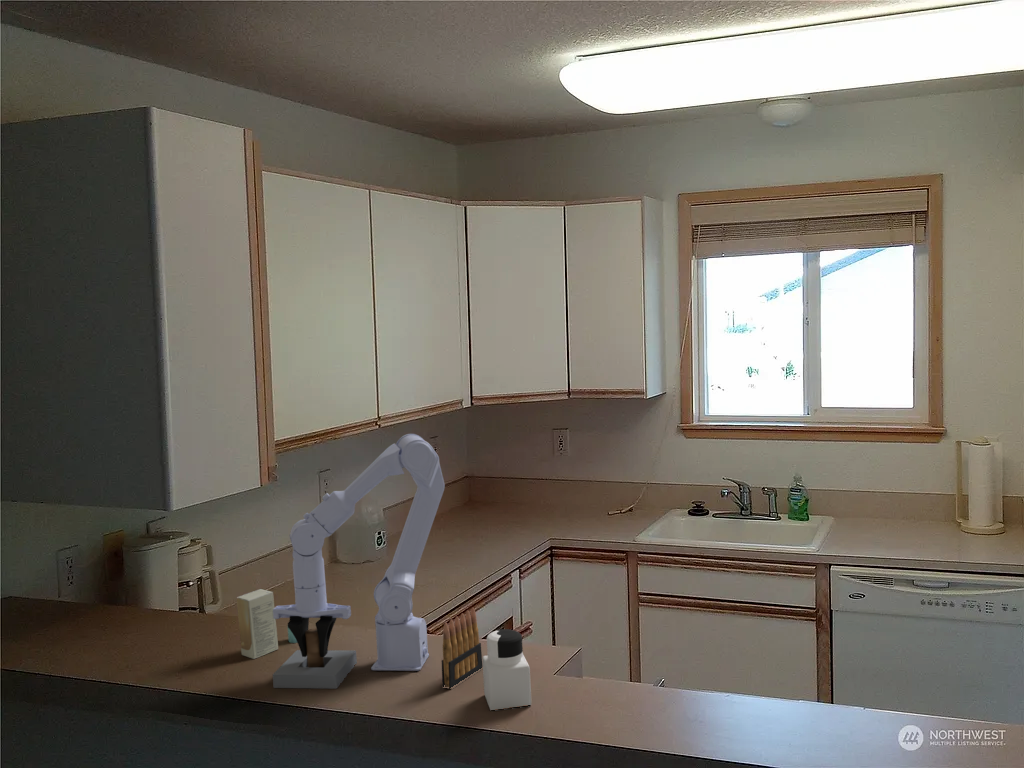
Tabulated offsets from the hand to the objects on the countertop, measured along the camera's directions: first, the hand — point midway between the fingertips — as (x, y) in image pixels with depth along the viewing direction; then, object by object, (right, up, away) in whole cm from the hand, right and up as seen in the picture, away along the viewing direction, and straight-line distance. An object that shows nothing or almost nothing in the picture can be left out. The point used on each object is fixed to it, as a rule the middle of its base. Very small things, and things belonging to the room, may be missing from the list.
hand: (314, 655), depth 179 cm
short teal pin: (-8, -3, +20) cm, 21 cm away
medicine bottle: (+36, -4, -15) cm, 40 cm away
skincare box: (-14, -4, +14) cm, 20 cm away
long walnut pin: (0, -2, 0) cm, 2 cm away
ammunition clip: (+28, -3, -5) cm, 29 cm away
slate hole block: (0, -4, 0) cm, 4 cm away
